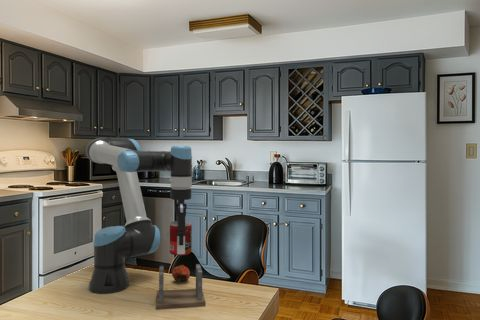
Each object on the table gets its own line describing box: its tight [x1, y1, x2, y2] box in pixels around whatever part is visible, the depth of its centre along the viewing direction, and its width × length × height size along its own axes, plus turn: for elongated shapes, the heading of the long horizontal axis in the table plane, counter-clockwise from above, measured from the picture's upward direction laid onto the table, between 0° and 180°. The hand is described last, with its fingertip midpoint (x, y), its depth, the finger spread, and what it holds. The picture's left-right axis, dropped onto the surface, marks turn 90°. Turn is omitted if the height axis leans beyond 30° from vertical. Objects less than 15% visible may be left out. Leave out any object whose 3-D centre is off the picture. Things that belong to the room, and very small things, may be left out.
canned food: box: [169, 220, 193, 256], centre depth 138 cm, size 8×8×11 cm
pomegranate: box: [171, 263, 191, 285], centre depth 158 cm, size 7×7×10 cm
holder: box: [155, 263, 206, 311], centre depth 139 cm, size 14×17×12 cm
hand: (180, 250), depth 138 cm, fingers closed on canned food, 8 cm apart
